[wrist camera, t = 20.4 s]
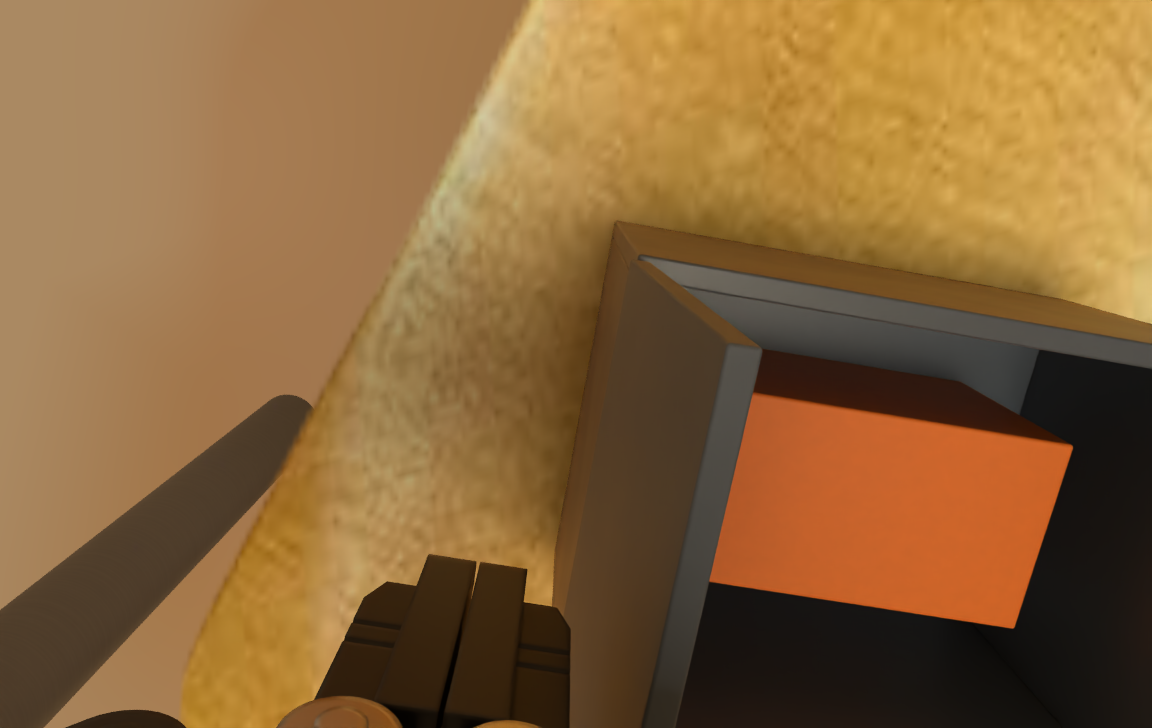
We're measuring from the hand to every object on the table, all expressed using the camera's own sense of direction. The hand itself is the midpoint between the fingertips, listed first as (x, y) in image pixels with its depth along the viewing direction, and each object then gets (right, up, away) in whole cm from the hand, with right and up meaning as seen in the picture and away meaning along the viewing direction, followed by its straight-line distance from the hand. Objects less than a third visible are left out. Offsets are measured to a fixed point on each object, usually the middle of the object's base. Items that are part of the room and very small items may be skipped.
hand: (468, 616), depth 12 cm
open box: (+9, +2, +14) cm, 17 cm away
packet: (+9, +2, +14) cm, 16 cm away
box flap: (+2, 0, +1) cm, 3 cm away
